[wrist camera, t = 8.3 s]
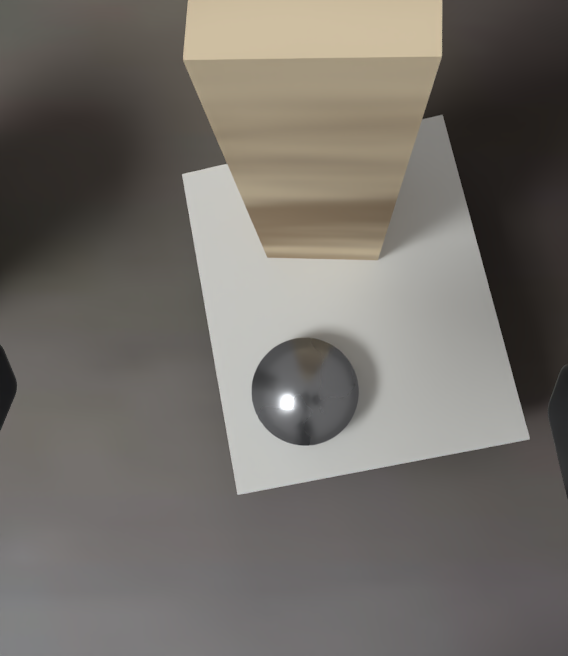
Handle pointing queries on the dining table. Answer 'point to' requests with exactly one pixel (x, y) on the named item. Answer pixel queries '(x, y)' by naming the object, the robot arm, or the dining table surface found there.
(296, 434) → the silver metal dome
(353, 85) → the beech post
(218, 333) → the white square board
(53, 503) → the dining table surface
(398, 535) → the dining table surface
